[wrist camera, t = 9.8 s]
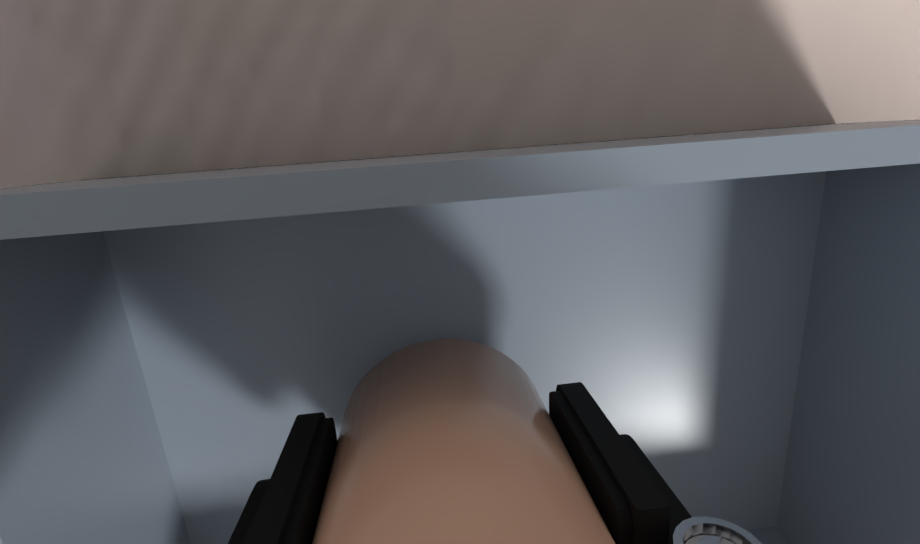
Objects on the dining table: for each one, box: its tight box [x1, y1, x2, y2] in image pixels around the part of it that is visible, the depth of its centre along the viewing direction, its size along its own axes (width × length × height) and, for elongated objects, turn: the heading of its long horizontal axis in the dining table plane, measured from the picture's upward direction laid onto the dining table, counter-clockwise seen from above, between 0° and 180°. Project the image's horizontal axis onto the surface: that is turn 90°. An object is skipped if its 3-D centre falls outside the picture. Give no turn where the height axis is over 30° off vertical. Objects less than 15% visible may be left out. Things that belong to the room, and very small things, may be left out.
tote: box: [0, 120, 920, 544], centre depth 11 cm, size 19×13×5 cm
